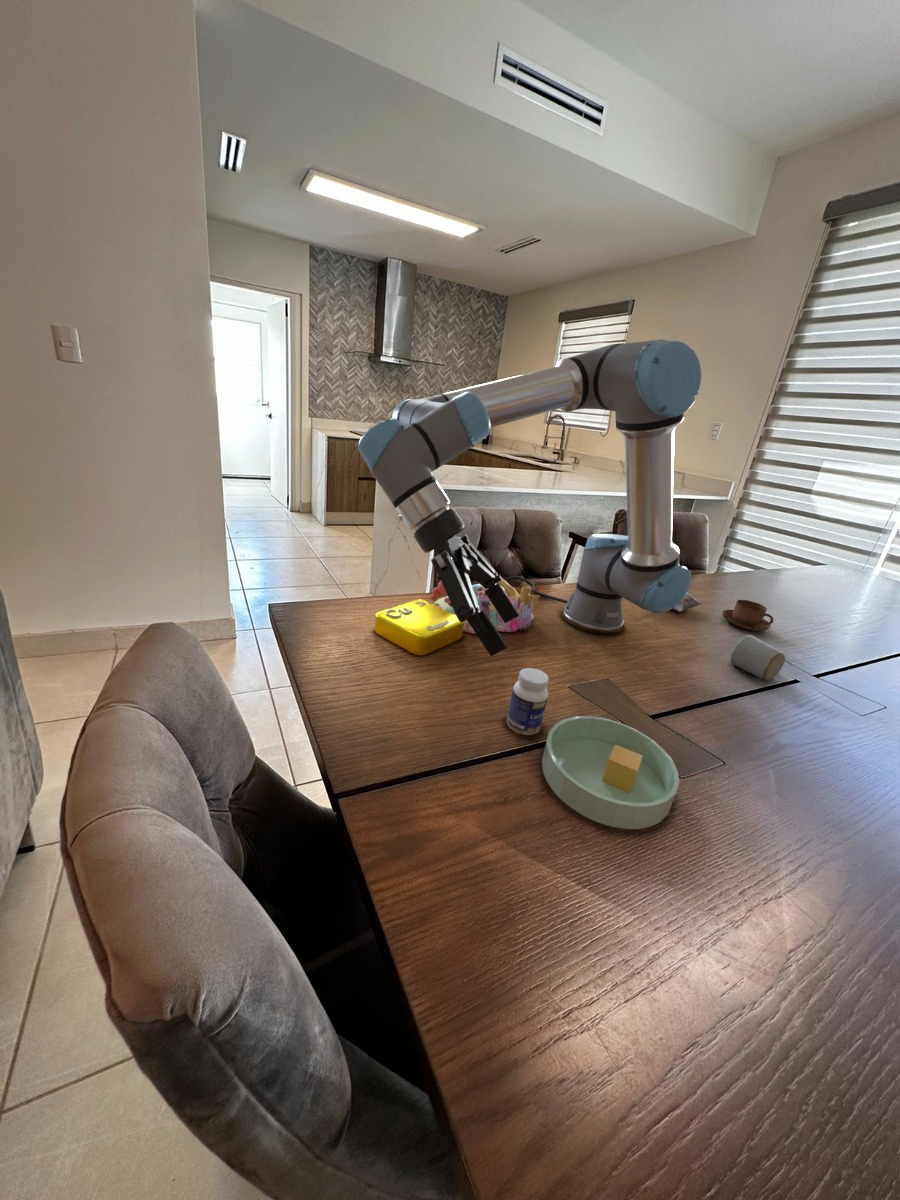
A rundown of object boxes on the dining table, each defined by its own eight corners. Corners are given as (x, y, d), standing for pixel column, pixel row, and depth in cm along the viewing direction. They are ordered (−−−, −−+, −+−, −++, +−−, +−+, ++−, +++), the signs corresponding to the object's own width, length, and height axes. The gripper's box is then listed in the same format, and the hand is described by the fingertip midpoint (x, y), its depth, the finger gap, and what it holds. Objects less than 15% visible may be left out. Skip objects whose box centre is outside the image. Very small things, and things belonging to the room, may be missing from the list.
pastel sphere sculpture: (480, 589, 134) (484, 559, 131) (549, 620, 120) (556, 586, 116) (415, 609, 117) (418, 574, 114) (487, 647, 103) (493, 609, 99)
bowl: (516, 766, 69) (521, 742, 68) (587, 725, 81) (593, 703, 79) (625, 857, 57) (635, 830, 55) (692, 793, 68) (702, 769, 67)
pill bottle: (531, 742, 75) (543, 689, 71) (500, 727, 78) (509, 675, 74) (545, 725, 79) (557, 674, 76) (515, 711, 82) (525, 661, 78)
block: (602, 780, 68) (608, 759, 66) (608, 765, 71) (614, 744, 70) (630, 793, 66) (638, 771, 65) (635, 776, 69) (642, 755, 68)
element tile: (419, 658, 95) (421, 637, 93) (370, 630, 104) (371, 611, 102) (465, 637, 106) (468, 618, 104) (418, 614, 115) (420, 596, 113)
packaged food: (699, 610, 139) (704, 595, 137) (678, 617, 132) (683, 601, 130) (672, 600, 145) (676, 585, 143) (650, 606, 138) (655, 590, 136)
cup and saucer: (768, 625, 135) (776, 605, 132) (768, 639, 125) (777, 618, 123) (721, 612, 140) (729, 593, 138) (718, 624, 130) (726, 604, 128)
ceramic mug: (762, 685, 101) (776, 654, 98) (725, 666, 107) (737, 636, 104) (785, 676, 106) (799, 646, 104) (749, 658, 113) (761, 630, 110)
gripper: (435, 520, 84) (498, 617, 87) (381, 549, 61) (469, 680, 64) (469, 497, 81) (534, 598, 84) (426, 518, 59) (516, 656, 61)
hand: (506, 634), depth 74 cm, fingers open, 13 cm apart
